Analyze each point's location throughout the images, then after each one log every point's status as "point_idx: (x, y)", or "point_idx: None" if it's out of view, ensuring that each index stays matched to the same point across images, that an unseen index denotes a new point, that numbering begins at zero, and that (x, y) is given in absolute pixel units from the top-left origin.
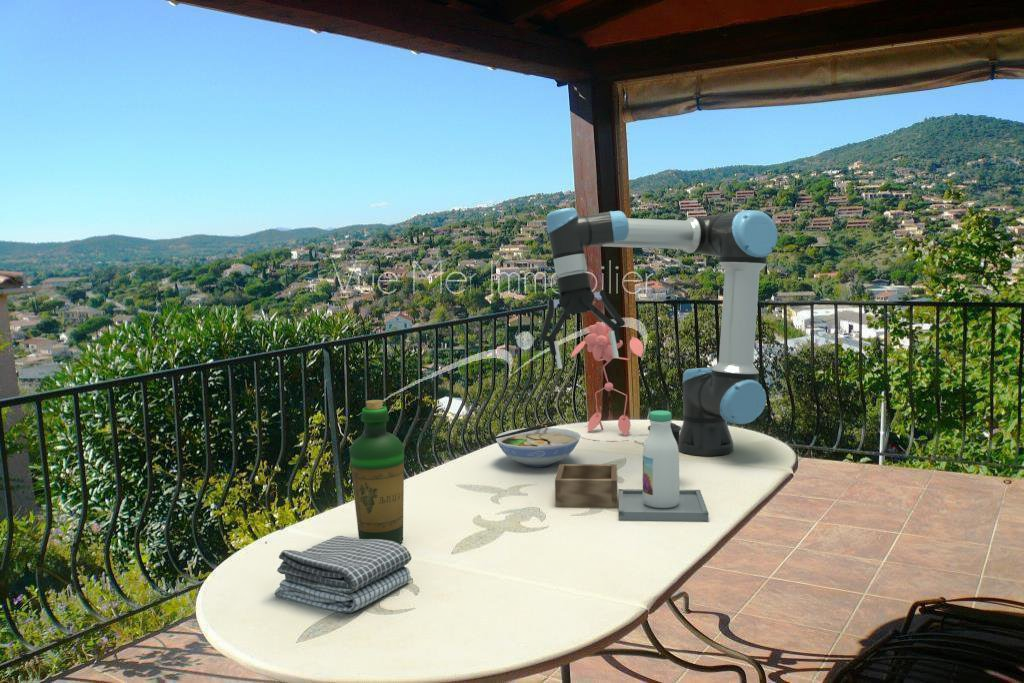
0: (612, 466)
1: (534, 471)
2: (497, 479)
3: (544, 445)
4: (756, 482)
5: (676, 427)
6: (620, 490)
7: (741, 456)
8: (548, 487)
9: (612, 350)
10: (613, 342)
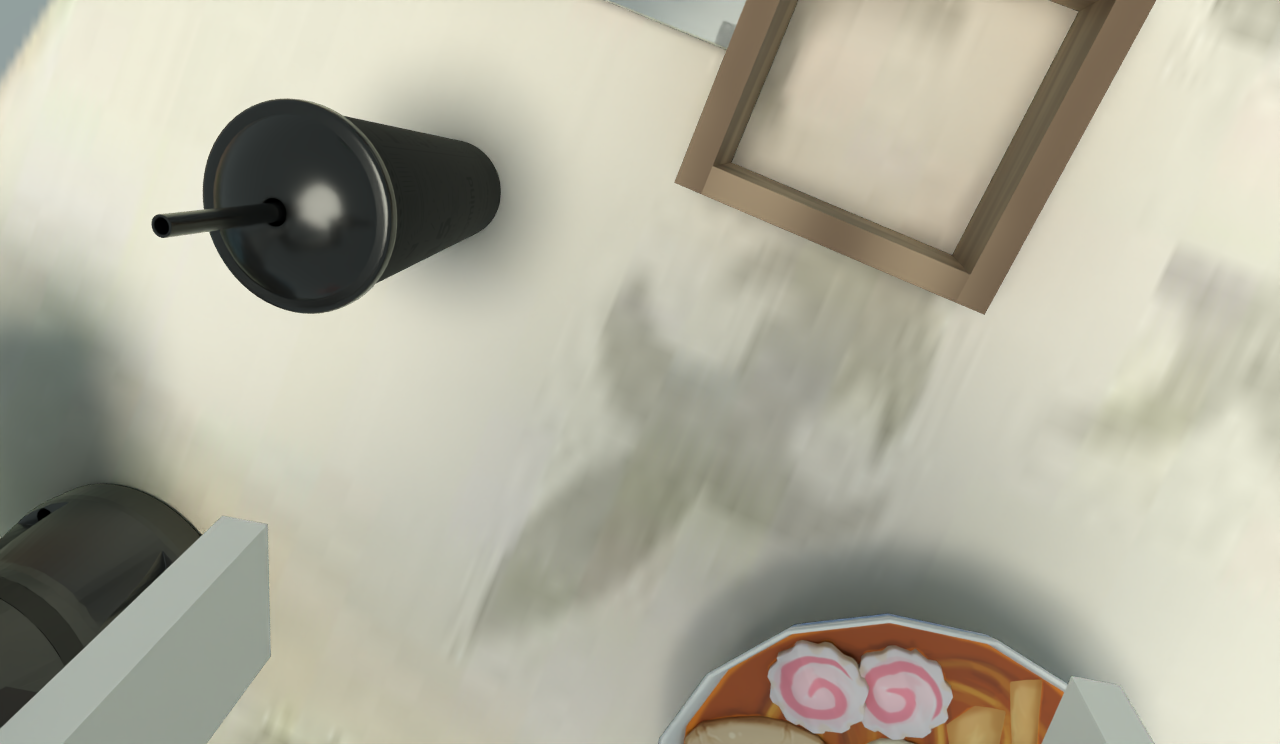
0: (714, 147)
1: (958, 625)
2: (1205, 581)
3: (896, 716)
4: (102, 60)
5: (234, 140)
6: (735, 23)
7: (36, 441)
8: (1006, 342)
9: (209, 715)
10: (99, 689)
